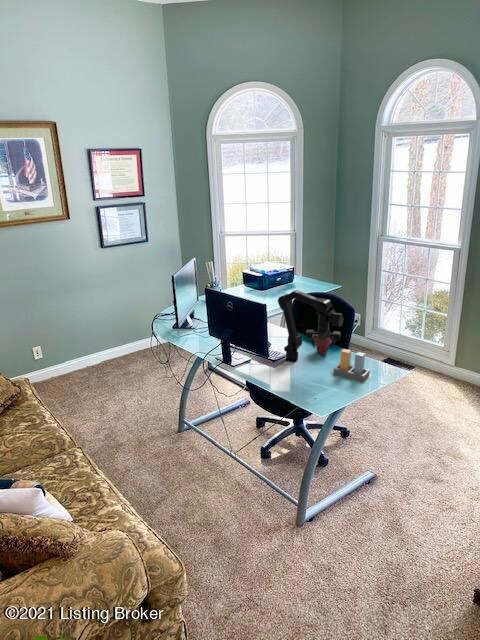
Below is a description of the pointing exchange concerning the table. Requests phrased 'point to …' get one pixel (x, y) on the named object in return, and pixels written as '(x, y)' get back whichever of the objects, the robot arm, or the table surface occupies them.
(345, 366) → the yellow upright block
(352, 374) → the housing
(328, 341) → the mechanical component
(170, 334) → the table surface
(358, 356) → the grey rectangular block
